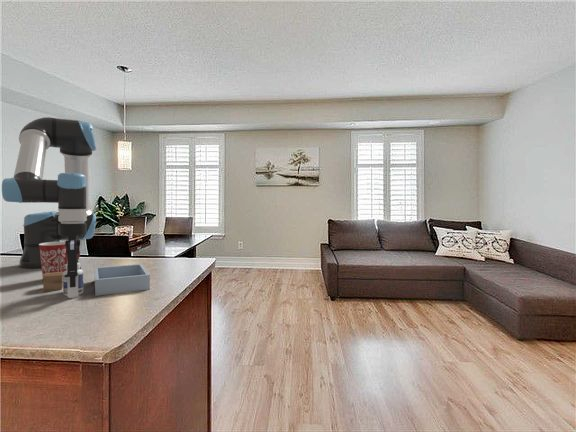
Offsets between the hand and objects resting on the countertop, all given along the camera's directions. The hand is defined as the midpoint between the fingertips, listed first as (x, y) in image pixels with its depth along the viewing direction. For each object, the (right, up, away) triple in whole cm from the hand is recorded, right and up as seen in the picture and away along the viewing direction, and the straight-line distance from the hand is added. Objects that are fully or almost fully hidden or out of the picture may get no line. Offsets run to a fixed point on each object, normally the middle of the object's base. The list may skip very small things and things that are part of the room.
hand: (73, 293), depth 106 cm
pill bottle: (0, 0, 0) cm, 0 cm away
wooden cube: (-10, 0, +6) cm, 12 cm away
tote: (+9, 0, +11) cm, 15 cm away
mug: (-17, +1, +18) cm, 25 cm away
